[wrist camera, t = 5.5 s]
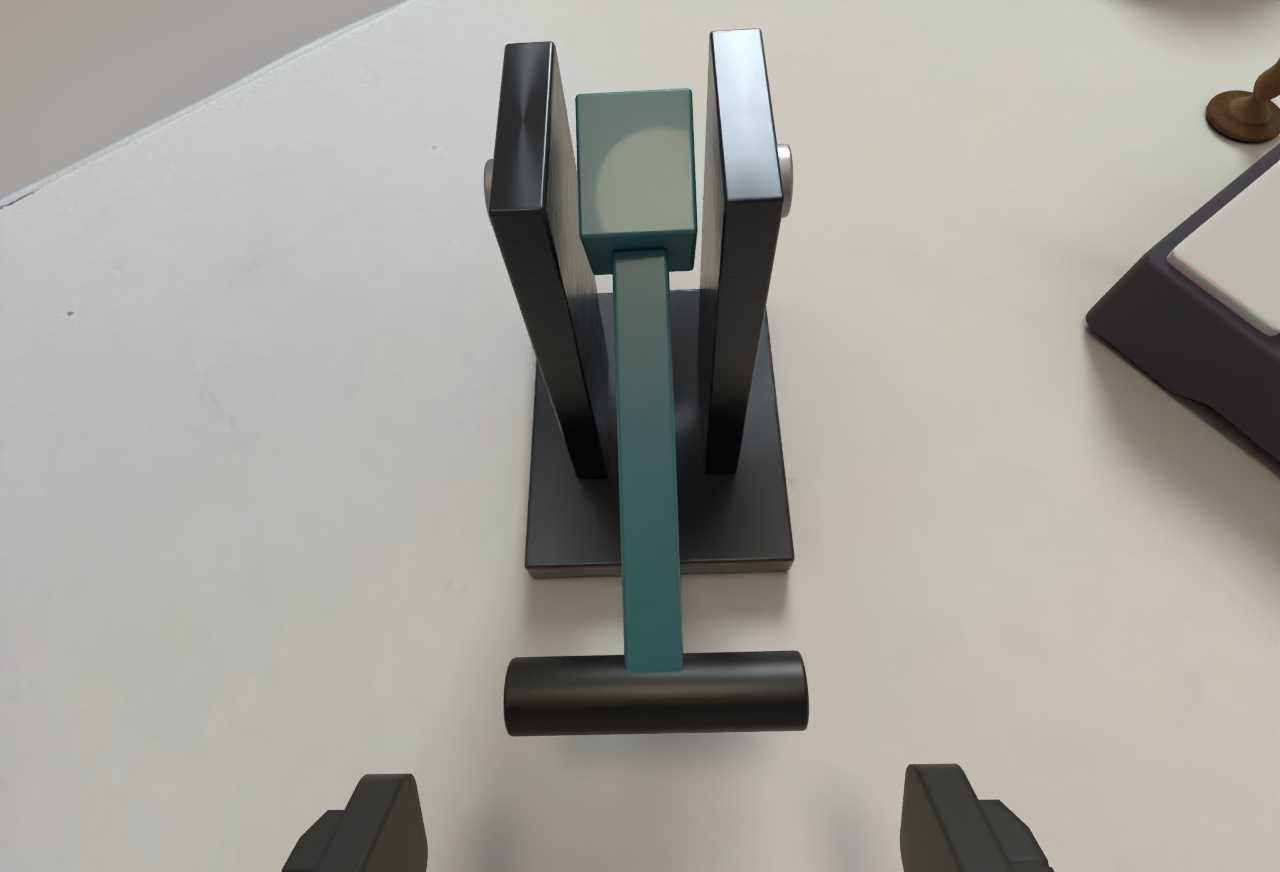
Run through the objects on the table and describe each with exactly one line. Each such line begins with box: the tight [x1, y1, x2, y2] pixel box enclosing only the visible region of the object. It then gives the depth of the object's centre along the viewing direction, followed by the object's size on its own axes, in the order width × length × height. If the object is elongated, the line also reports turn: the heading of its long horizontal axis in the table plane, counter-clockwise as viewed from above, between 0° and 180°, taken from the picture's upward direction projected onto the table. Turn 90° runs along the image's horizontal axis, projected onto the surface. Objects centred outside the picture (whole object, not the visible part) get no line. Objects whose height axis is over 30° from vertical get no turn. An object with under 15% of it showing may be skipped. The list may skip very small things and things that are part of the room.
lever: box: [504, 88, 809, 736], centre depth 14 cm, size 12×6×2 cm, turn 2°
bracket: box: [484, 29, 795, 578], centre depth 19 cm, size 10×8×13 cm
